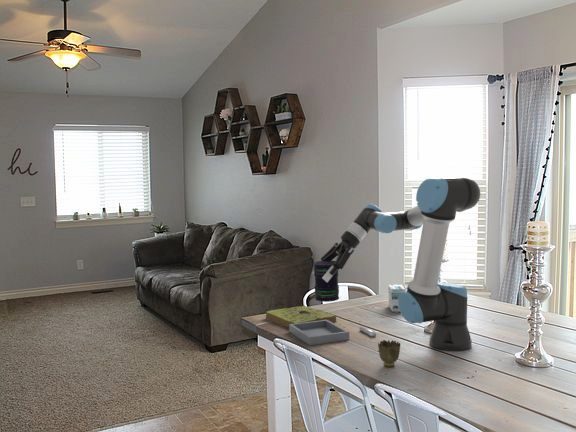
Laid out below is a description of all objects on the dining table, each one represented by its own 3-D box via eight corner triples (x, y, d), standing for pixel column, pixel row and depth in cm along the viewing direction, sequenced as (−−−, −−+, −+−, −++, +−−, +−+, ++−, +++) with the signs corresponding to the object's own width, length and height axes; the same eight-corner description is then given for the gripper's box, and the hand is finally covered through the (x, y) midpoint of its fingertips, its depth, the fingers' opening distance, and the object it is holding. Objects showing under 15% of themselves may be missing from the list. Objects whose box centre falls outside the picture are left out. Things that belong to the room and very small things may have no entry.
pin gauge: (371, 336, 230) (374, 338, 231) (373, 331, 230) (377, 334, 231) (358, 329, 239) (361, 332, 240) (361, 325, 239) (364, 327, 240)
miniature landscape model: (305, 312, 273) (305, 301, 272) (336, 323, 253) (336, 311, 253) (265, 319, 261) (265, 308, 260) (295, 331, 241) (295, 319, 241)
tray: (349, 339, 227) (349, 331, 227) (309, 345, 221) (309, 337, 221) (326, 326, 246) (326, 319, 246) (289, 331, 239) (289, 324, 239)
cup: (385, 360, 202) (385, 338, 202) (404, 365, 198) (404, 342, 197) (374, 366, 197) (373, 343, 196) (393, 371, 192) (393, 347, 191)
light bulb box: (406, 312, 269) (406, 288, 268) (391, 312, 269) (391, 289, 268) (402, 306, 279) (402, 284, 278) (388, 306, 279) (387, 284, 278)
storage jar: (338, 295, 243) (337, 260, 242) (340, 301, 233) (339, 264, 232) (314, 296, 243) (313, 261, 242) (315, 302, 233) (314, 265, 232)
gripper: (372, 245, 231) (337, 288, 227) (347, 238, 252) (314, 278, 248) (359, 233, 228) (324, 276, 225) (335, 227, 249) (302, 267, 246)
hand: (319, 277), depth 236 cm, fingers closed on storage jar, 10 cm apart
